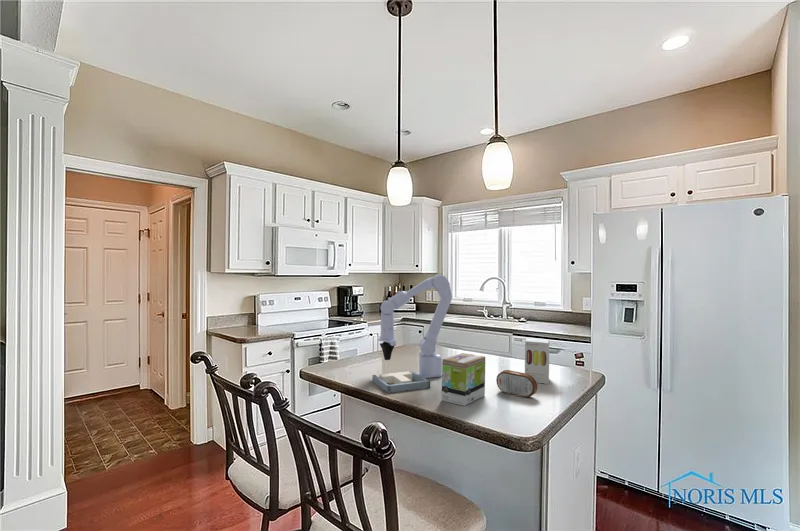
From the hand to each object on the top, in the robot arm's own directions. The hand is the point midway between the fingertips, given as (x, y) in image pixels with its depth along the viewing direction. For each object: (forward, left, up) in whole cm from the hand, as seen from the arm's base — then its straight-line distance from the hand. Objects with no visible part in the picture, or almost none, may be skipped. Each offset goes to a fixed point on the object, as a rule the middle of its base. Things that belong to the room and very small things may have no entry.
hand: (387, 359), depth 173 cm
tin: (-34, +43, -7) cm, 55 cm away
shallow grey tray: (0, +14, -7) cm, 16 cm away
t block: (0, +14, -7) cm, 16 cm away
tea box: (-14, +39, -7) cm, 42 cm away
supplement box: (-55, +31, -7) cm, 63 cm away
